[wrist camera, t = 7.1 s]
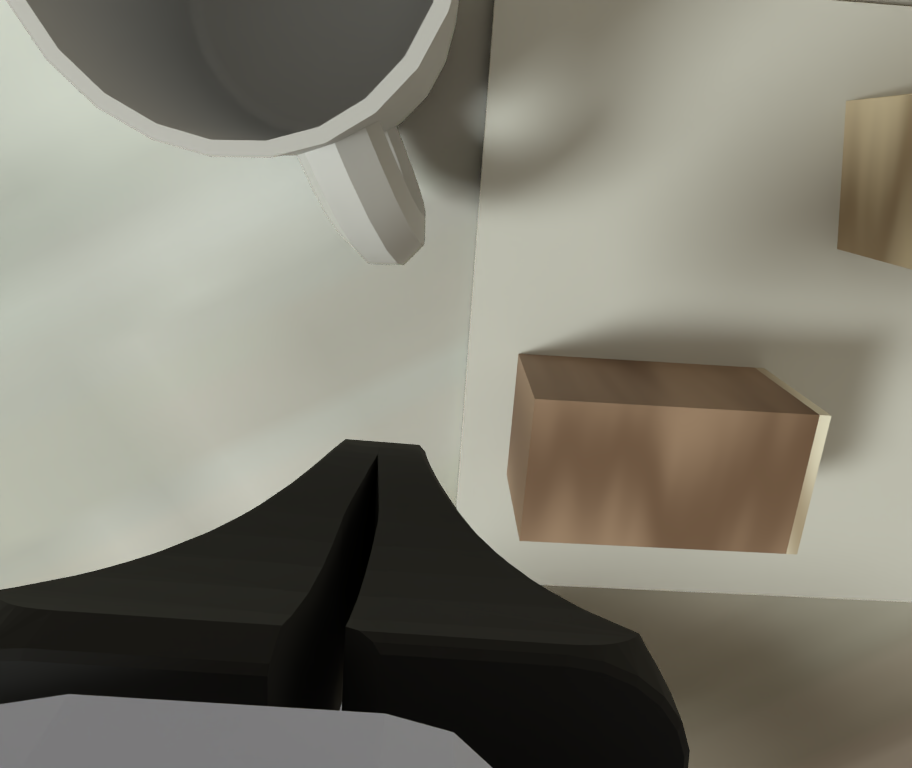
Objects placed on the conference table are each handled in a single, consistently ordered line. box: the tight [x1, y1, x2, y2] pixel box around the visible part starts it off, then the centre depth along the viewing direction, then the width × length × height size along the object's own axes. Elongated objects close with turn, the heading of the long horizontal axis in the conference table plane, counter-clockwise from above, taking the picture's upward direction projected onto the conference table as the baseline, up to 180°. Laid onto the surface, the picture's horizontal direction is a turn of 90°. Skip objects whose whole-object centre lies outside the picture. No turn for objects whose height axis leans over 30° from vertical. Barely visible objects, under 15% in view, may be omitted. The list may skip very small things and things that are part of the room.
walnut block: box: [507, 354, 831, 554], centre depth 21 cm, size 4×4×8 cm
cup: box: [6, 0, 459, 265], centre depth 15 cm, size 7×10×9 cm
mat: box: [456, 0, 912, 602], centre depth 22 cm, size 18×16×1 cm
